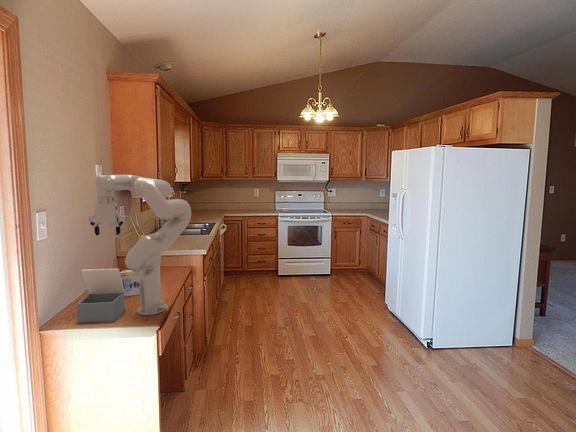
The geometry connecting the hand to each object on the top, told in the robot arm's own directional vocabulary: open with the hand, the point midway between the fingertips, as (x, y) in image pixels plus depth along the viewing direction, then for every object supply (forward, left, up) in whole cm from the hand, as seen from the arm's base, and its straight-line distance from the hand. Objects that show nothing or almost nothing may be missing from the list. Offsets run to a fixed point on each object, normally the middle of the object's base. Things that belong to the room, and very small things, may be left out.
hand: (107, 234), depth 185 cm
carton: (-6, +14, -36) cm, 39 cm away
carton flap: (-5, +10, -21) cm, 23 cm away
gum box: (+4, -15, -37) cm, 40 cm away
